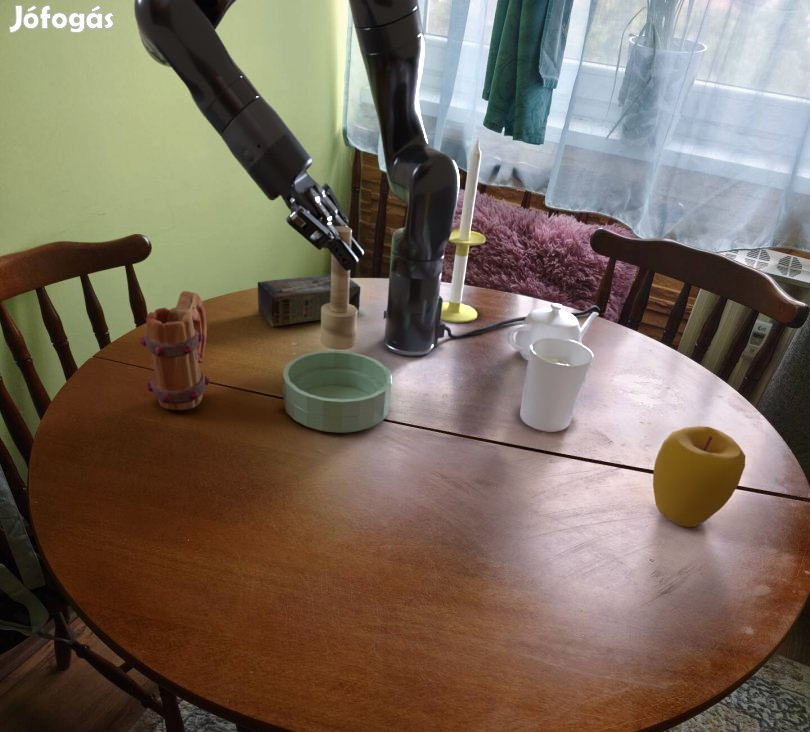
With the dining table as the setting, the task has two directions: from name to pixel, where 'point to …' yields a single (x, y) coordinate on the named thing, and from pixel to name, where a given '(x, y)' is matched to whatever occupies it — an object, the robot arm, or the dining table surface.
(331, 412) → the bowl
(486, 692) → the dining table surface
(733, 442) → the apple
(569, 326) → the teapot
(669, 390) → the dining table surface
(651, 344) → the dining table surface
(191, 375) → the mug
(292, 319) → the beverage carton
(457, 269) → the candle
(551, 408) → the white cup
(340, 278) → the wooden masher
